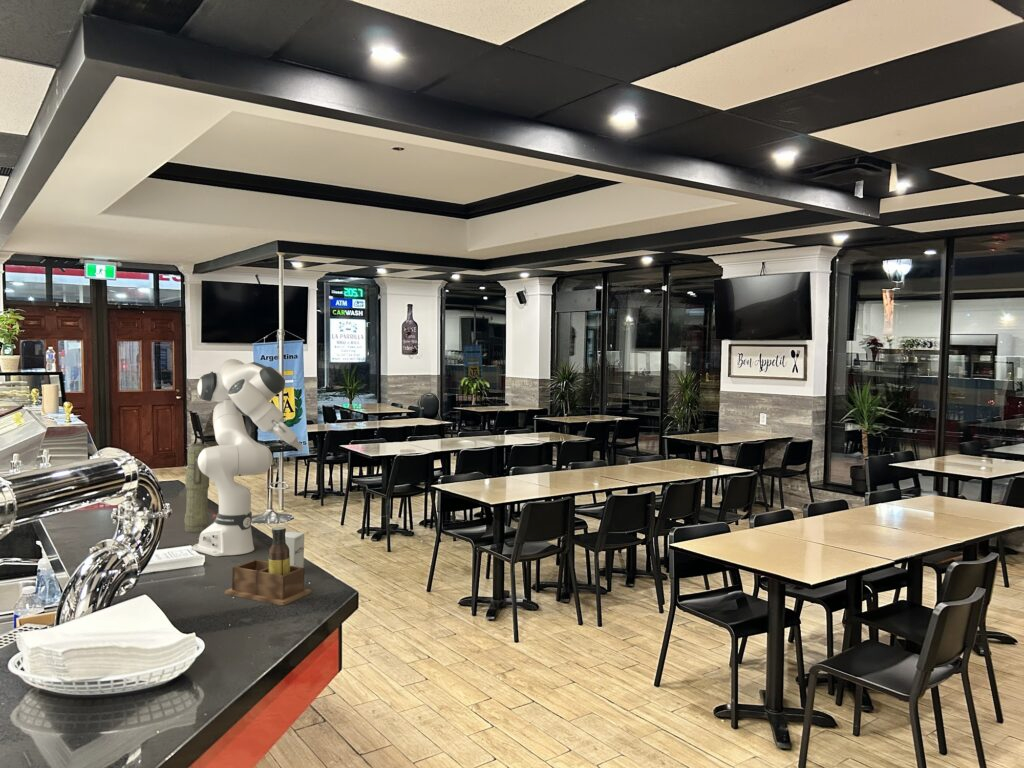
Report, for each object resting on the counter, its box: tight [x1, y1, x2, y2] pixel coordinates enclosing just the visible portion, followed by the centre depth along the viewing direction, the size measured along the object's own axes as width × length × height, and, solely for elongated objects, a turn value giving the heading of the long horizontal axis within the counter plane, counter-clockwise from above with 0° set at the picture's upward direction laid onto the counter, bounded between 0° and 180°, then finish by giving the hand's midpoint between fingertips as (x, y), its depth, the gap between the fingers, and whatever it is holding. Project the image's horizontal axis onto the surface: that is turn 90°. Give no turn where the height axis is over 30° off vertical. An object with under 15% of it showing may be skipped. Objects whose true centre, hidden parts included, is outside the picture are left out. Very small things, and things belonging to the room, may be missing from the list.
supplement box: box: [285, 531, 305, 568], centre depth 248 cm, size 7×7×13 cm
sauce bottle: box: [268, 526, 290, 575], centre depth 224 cm, size 6×6×20 cm
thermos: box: [183, 442, 210, 534], centre depth 295 cm, size 9×12×35 cm
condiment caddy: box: [224, 558, 312, 607], centre depth 226 cm, size 22×13×8 cm, turn 68°
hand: (298, 447), depth 252 cm, fingers open, 8 cm apart
